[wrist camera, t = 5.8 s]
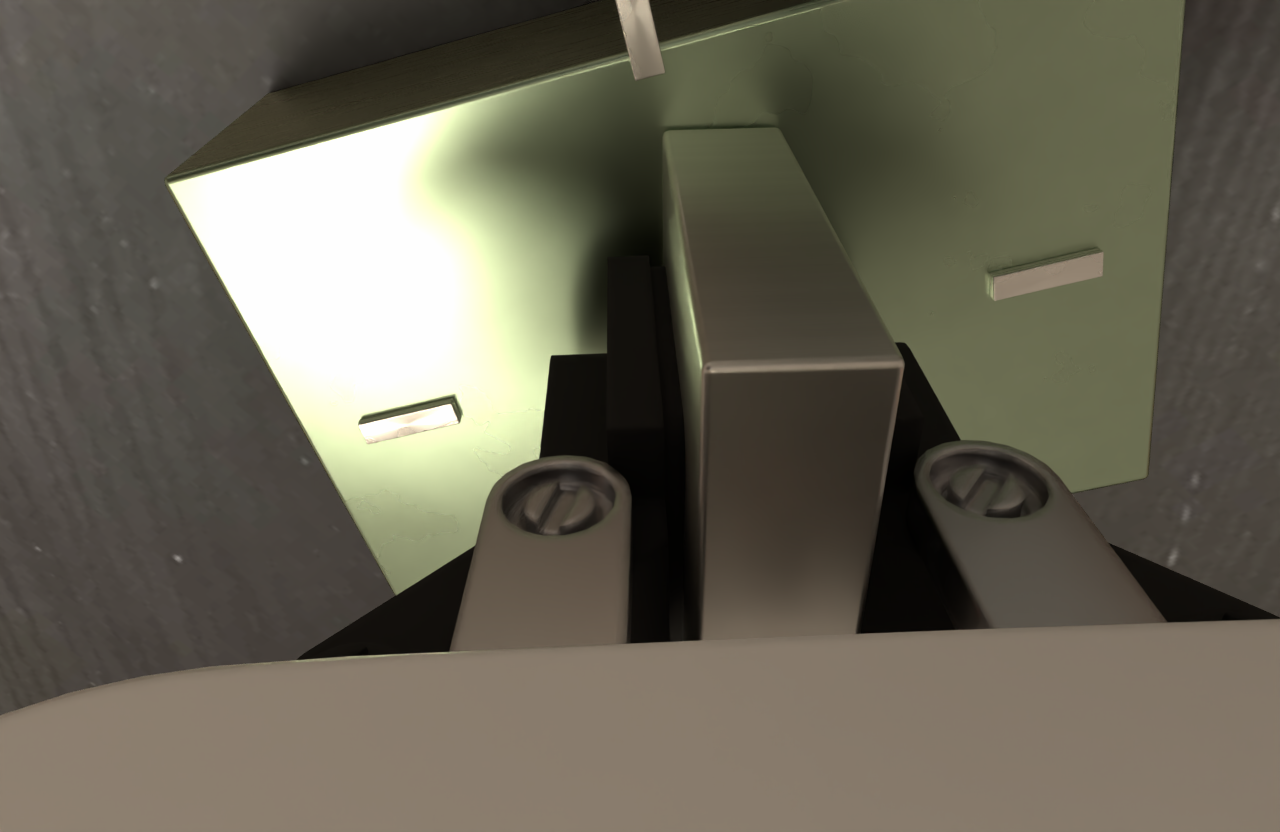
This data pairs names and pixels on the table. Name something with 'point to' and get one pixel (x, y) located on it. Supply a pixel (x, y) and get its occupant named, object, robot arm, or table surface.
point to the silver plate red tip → (772, 392)
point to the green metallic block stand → (633, 222)
